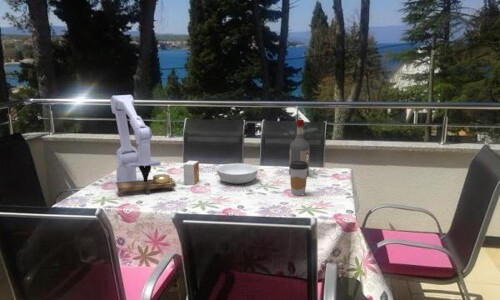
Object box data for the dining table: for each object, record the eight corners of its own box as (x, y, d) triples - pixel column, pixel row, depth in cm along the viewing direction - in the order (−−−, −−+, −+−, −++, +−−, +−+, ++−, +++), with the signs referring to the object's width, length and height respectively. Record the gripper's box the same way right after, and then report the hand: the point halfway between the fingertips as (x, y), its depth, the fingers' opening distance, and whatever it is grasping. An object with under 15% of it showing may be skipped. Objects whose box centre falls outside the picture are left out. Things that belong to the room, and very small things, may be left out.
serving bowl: (210, 184, 215) (209, 171, 214) (227, 174, 234) (227, 161, 233) (248, 189, 208) (248, 175, 206) (263, 178, 227) (263, 165, 225)
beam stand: (145, 194, 199) (145, 185, 198) (142, 187, 210) (142, 178, 209) (150, 194, 200) (149, 185, 199) (147, 187, 211) (146, 178, 210)
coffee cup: (308, 192, 203) (309, 161, 200) (305, 197, 195) (305, 165, 192) (291, 190, 206) (292, 159, 202) (287, 195, 198) (287, 164, 195)
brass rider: (153, 185, 202) (153, 179, 201) (152, 180, 209) (152, 174, 208) (170, 184, 204) (170, 178, 203) (169, 179, 211) (169, 173, 211)
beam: (118, 191, 195) (118, 188, 195) (117, 185, 205) (116, 182, 204) (175, 186, 204) (175, 183, 204) (171, 180, 213) (171, 177, 213)
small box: (194, 185, 214) (193, 164, 212) (183, 184, 215) (183, 164, 213) (199, 180, 222) (199, 160, 220) (189, 180, 223) (188, 160, 221)
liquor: (287, 175, 230) (288, 120, 224) (295, 172, 238) (296, 118, 232) (303, 178, 226) (304, 121, 219) (310, 174, 233) (311, 119, 227)
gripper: (128, 156, 195) (130, 185, 198) (161, 153, 200) (162, 182, 203) (127, 153, 201) (129, 181, 204) (158, 150, 206) (160, 178, 209)
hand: (145, 181), depth 204 cm, fingers closed
